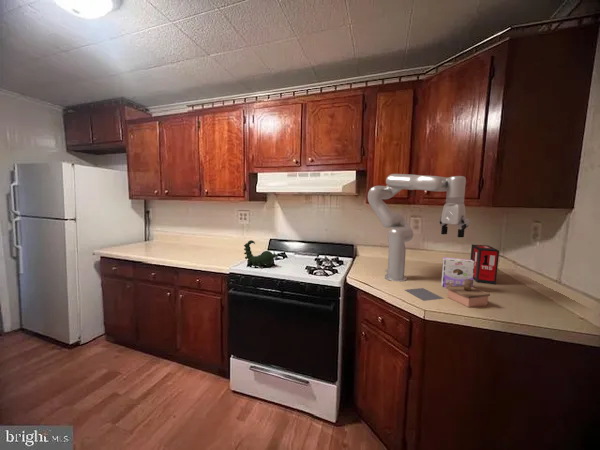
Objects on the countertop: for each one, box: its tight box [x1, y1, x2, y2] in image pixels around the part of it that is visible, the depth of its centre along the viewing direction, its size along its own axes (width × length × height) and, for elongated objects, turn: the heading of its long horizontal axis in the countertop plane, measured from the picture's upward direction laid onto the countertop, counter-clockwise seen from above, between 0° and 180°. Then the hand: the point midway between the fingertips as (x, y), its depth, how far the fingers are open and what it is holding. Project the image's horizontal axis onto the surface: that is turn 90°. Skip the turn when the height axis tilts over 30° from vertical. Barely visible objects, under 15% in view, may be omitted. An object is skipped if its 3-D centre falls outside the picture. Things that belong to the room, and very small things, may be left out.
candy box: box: [440, 256, 475, 288], centre depth 131 cm, size 14×6×16 cm, turn 66°
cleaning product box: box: [469, 244, 500, 285], centre depth 147 cm, size 16×9×20 cm, turn 159°
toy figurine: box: [243, 240, 277, 268], centre depth 170 cm, size 9×19×25 cm
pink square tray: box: [447, 289, 489, 308], centre depth 114 cm, size 11×11×5 cm
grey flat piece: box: [404, 287, 445, 302], centre depth 122 cm, size 14×12×1 cm
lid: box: [445, 279, 491, 298], centre depth 113 cm, size 12×12×6 cm
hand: (452, 235), depth 121 cm, fingers open, 9 cm apart
